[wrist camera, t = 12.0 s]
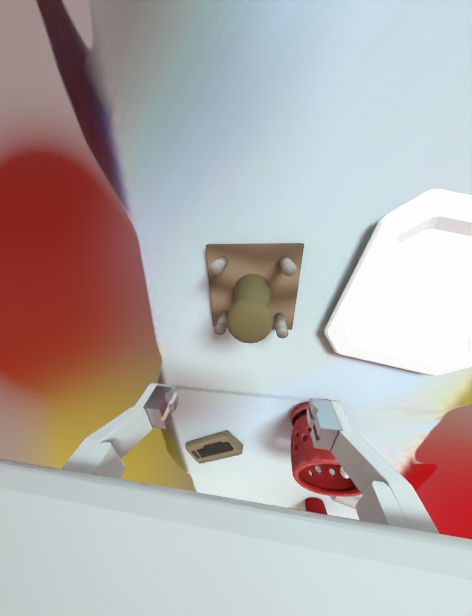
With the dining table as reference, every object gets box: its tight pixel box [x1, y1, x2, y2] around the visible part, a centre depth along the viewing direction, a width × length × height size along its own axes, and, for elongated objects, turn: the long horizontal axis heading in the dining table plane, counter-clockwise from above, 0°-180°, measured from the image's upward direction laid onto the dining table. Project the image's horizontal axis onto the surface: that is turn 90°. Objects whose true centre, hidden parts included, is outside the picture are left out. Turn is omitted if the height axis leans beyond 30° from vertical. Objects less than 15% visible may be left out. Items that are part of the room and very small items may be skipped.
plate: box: [324, 189, 472, 376], centre depth 25 cm, size 25×25×2 cm
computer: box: [186, 430, 243, 463], centre depth 50 cm, size 16×8×3 cm, turn 125°
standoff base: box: [206, 243, 304, 338], centre depth 26 cm, size 14×14×6 cm
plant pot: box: [291, 403, 362, 497], centre depth 35 cm, size 13×13×12 cm
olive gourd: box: [227, 274, 273, 343], centre depth 23 cm, size 6×6×11 cm
